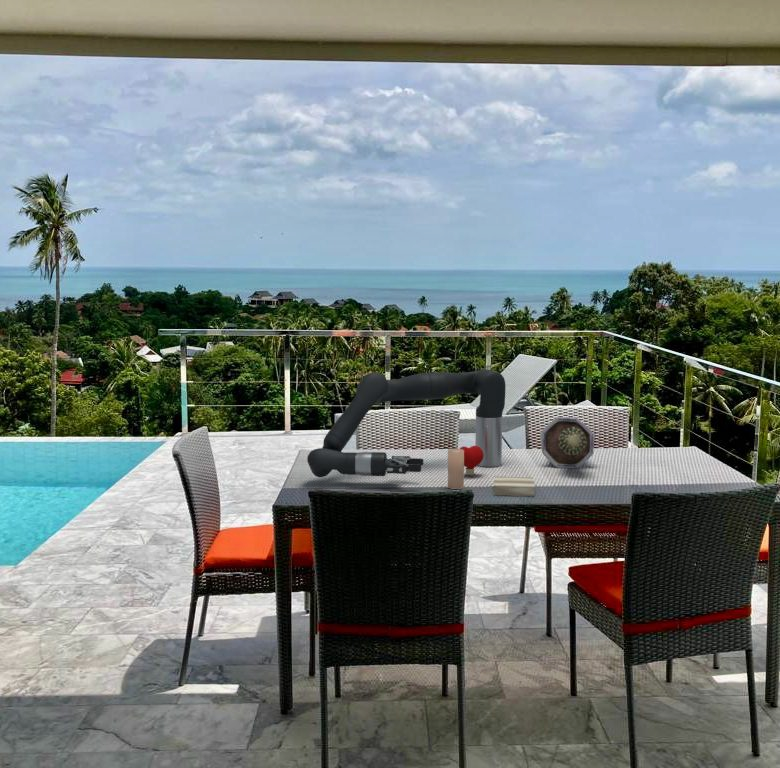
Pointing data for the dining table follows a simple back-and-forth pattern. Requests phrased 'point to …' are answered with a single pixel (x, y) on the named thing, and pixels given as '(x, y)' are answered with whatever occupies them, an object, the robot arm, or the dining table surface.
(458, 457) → the tall pink cylinder
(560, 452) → the potted plant
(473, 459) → the red heart
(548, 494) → the dining table surface
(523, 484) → the base slab
